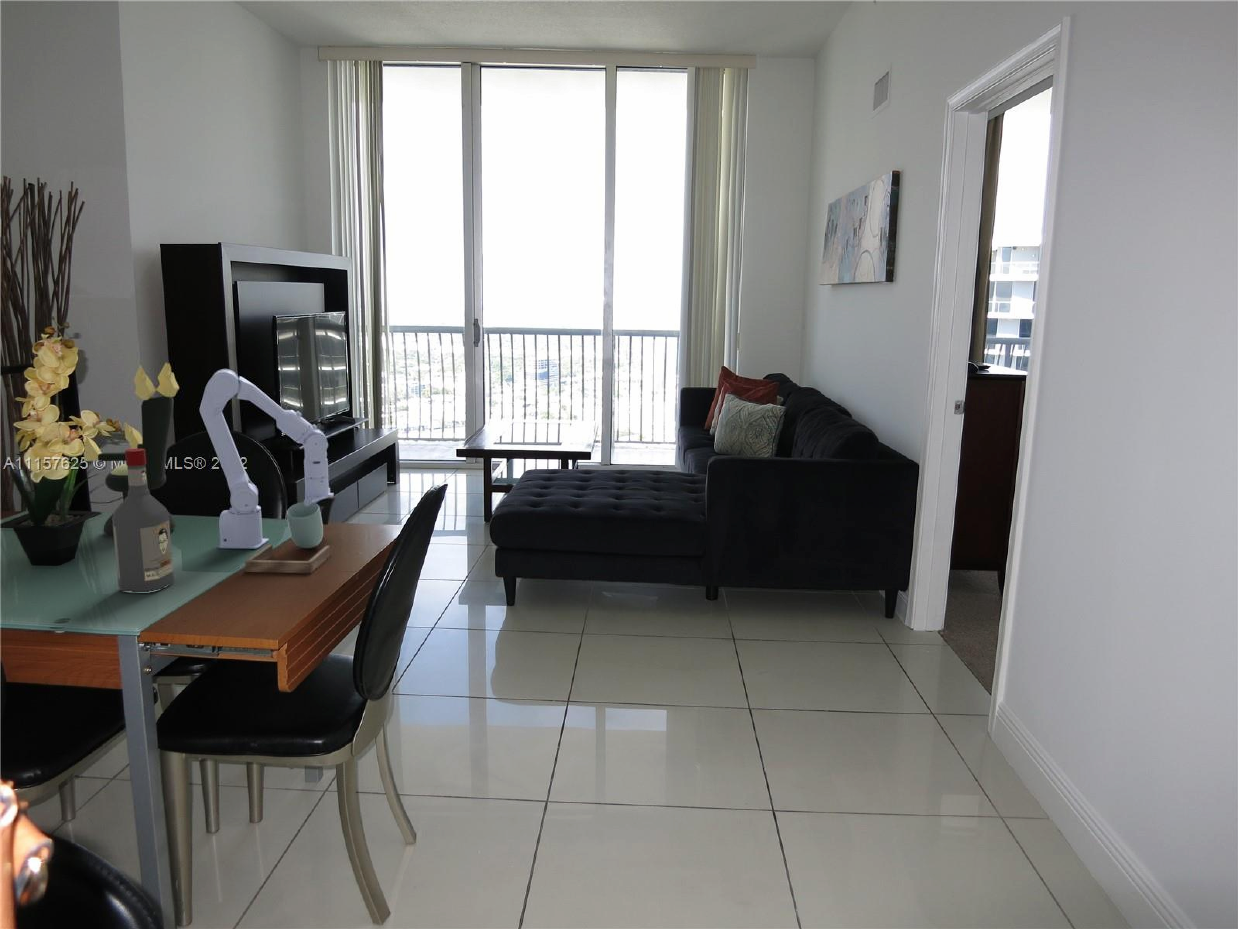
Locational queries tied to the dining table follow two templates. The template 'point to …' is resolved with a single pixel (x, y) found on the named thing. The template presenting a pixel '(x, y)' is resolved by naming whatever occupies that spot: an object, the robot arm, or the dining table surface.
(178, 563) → the dining table surface
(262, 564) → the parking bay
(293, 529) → the cup
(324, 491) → the robot arm
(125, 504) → the liquor
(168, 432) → the flowering cactus
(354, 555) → the dining table surface
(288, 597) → the dining table surface
